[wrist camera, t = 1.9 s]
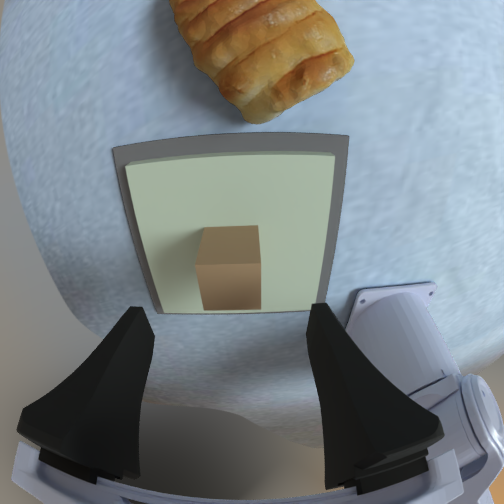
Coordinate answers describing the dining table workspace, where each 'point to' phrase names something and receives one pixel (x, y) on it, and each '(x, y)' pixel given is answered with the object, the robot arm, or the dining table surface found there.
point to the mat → (238, 144)
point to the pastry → (264, 50)
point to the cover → (234, 228)
